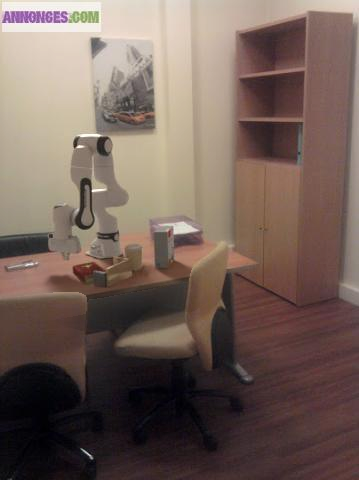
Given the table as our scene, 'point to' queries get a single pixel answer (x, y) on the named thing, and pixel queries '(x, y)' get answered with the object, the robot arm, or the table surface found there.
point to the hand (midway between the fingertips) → (66, 260)
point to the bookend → (100, 278)
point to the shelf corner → (118, 270)
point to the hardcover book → (87, 271)
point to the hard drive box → (164, 246)
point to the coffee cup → (134, 255)
